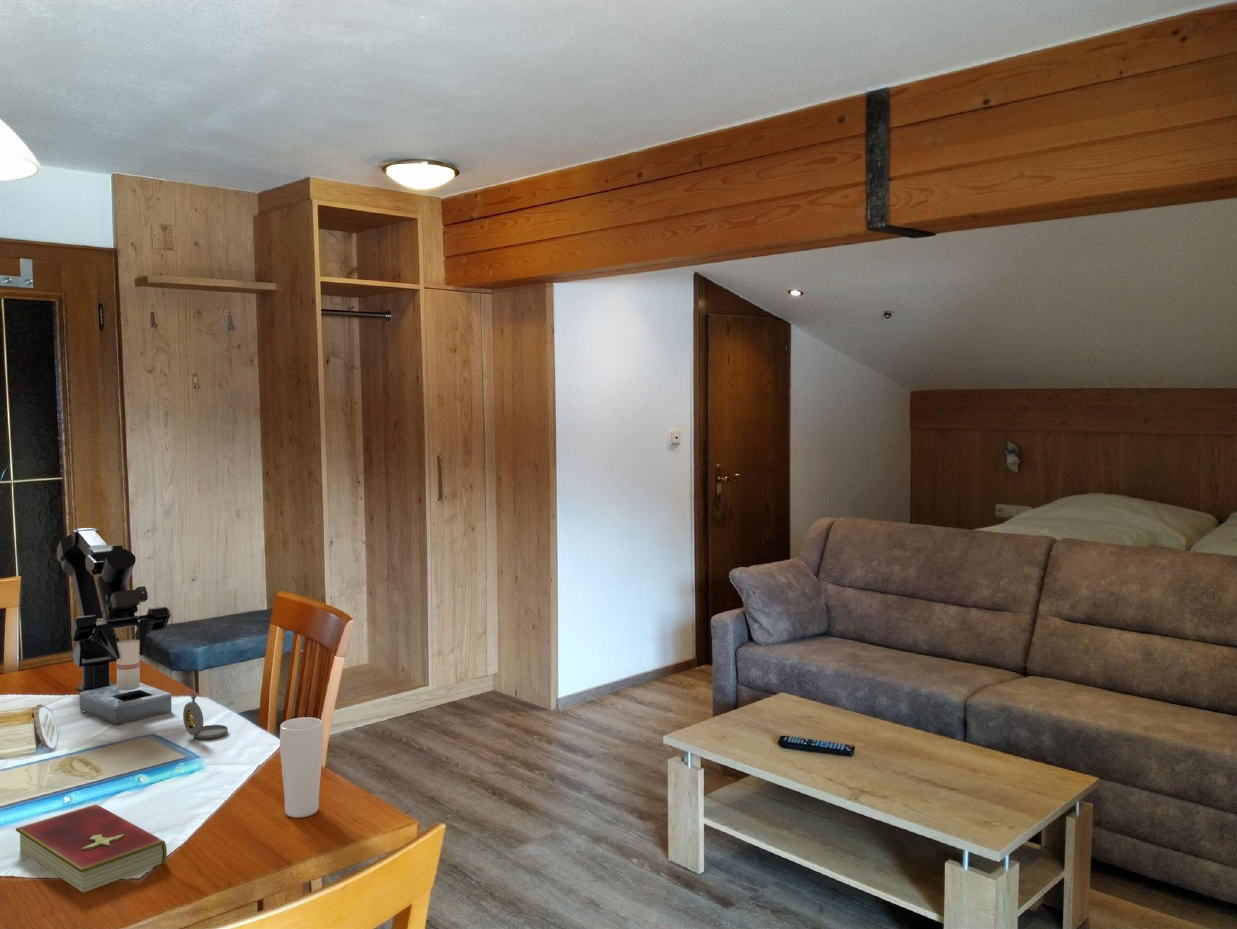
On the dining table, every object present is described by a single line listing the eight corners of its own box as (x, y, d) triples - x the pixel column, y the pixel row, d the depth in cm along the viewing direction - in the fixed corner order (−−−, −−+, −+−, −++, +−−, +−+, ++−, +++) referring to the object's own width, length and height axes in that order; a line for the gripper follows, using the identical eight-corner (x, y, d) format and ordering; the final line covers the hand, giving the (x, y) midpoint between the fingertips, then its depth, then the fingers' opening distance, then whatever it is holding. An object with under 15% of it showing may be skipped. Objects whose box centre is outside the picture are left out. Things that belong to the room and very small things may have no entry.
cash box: (79, 710, 211) (79, 692, 211) (134, 697, 221) (134, 680, 220) (115, 725, 201) (115, 706, 201) (171, 711, 211) (171, 693, 211)
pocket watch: (233, 730, 200) (233, 682, 199) (212, 744, 191) (212, 694, 191) (196, 728, 201) (195, 680, 200) (173, 742, 192) (173, 692, 192)
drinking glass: (311, 800, 165) (311, 714, 164) (330, 812, 160) (330, 723, 159) (273, 811, 160) (272, 722, 159) (291, 824, 155) (291, 733, 154)
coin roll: (111, 688, 207) (111, 642, 206) (129, 683, 211) (129, 638, 210) (127, 691, 205) (127, 645, 204) (144, 685, 209) (144, 640, 208)
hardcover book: (98, 827, 154) (98, 801, 154) (166, 865, 142) (166, 837, 141) (16, 853, 145) (15, 826, 144) (81, 897, 132) (81, 867, 132)
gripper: (73, 579, 203) (88, 642, 196) (167, 570, 215) (184, 629, 208) (65, 609, 209) (78, 671, 202) (156, 599, 222) (172, 657, 214)
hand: (130, 656), depth 206 cm, fingers closed on coin roll, 4 cm apart
